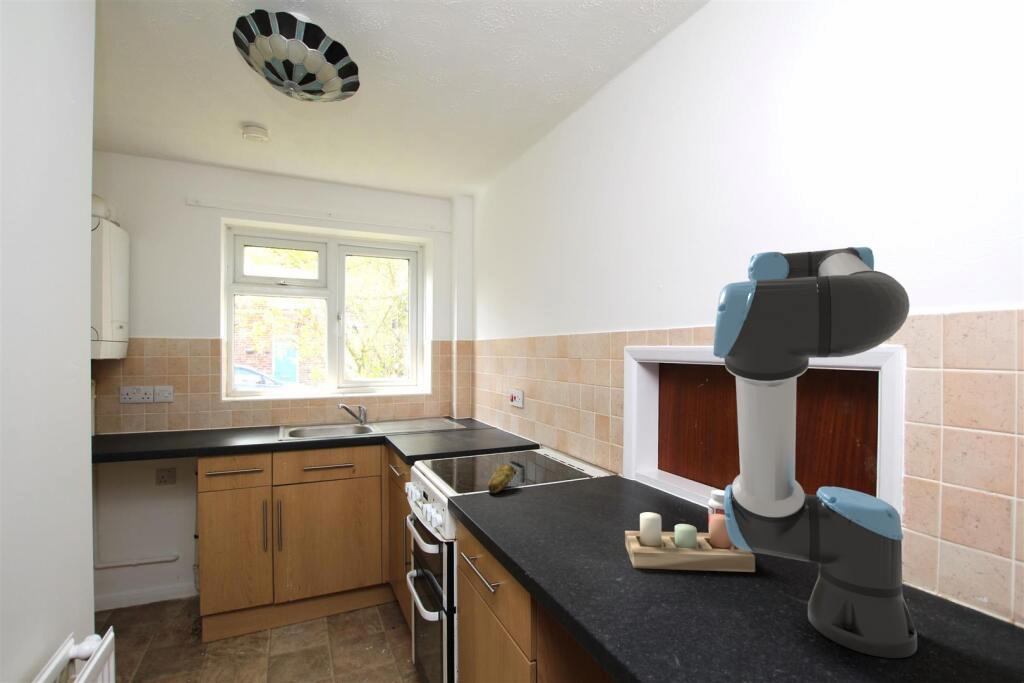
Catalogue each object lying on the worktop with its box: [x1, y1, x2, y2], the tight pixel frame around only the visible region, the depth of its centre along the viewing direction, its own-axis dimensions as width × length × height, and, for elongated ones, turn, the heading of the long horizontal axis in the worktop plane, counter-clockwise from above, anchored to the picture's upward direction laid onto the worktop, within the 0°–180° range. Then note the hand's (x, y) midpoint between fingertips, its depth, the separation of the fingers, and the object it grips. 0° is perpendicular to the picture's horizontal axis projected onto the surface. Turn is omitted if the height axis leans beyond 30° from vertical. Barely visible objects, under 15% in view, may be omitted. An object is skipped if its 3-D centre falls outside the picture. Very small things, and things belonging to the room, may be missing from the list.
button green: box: [674, 523, 698, 548], centre depth 108 cm, size 5×5×6 cm
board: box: [624, 530, 756, 573], centre depth 108 cm, size 12×26×4 cm, turn 85°
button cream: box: [639, 511, 662, 546], centre depth 109 cm, size 5×5×6 cm
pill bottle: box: [707, 489, 725, 533], centre depth 121 cm, size 6×6×11 cm
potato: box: [487, 464, 515, 494], centre depth 160 cm, size 8×13×8 cm, turn 134°
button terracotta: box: [710, 514, 733, 548], centre depth 107 cm, size 5×5×6 cm
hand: (769, 416), depth 111 cm, fingers closed
